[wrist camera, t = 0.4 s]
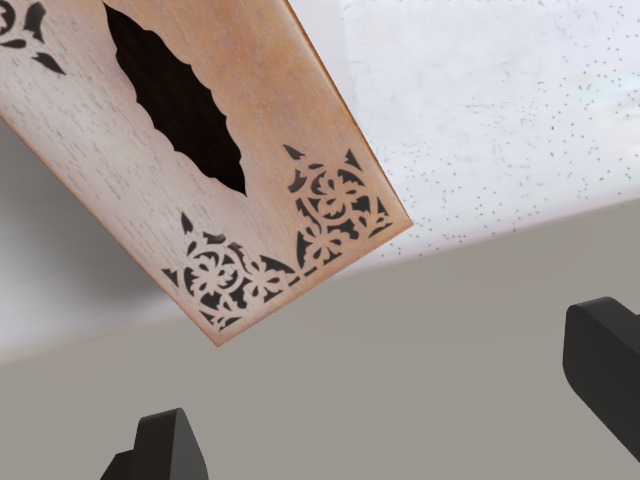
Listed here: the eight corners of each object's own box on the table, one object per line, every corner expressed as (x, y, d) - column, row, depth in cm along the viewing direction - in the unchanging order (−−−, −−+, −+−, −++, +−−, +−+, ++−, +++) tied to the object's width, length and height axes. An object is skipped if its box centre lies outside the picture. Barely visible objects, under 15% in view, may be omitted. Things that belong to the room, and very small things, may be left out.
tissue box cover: (-51, -45, 28) (-175, -69, 19) (154, -195, 27) (122, -295, 18) (217, 271, 40) (217, 347, 31) (369, 175, 39) (413, 225, 30)
